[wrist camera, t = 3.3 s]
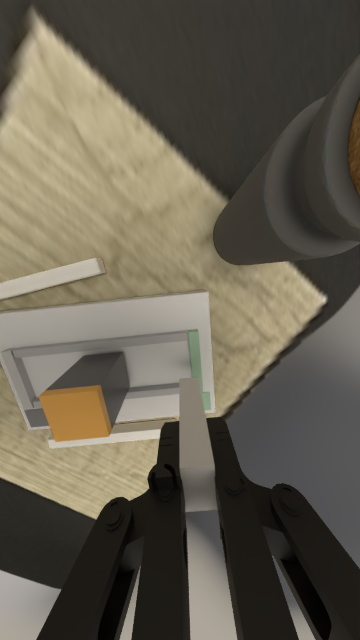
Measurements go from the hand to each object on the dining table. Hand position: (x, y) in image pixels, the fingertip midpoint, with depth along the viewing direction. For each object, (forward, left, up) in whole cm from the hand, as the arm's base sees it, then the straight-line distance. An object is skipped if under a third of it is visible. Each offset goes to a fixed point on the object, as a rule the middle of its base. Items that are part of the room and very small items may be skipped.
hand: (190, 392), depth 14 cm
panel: (-8, 0, -7) cm, 11 cm away
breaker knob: (-8, 0, -4) cm, 9 cm away
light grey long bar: (-10, -10, -7) cm, 16 cm away
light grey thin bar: (-14, +10, -7) cm, 19 cm away
